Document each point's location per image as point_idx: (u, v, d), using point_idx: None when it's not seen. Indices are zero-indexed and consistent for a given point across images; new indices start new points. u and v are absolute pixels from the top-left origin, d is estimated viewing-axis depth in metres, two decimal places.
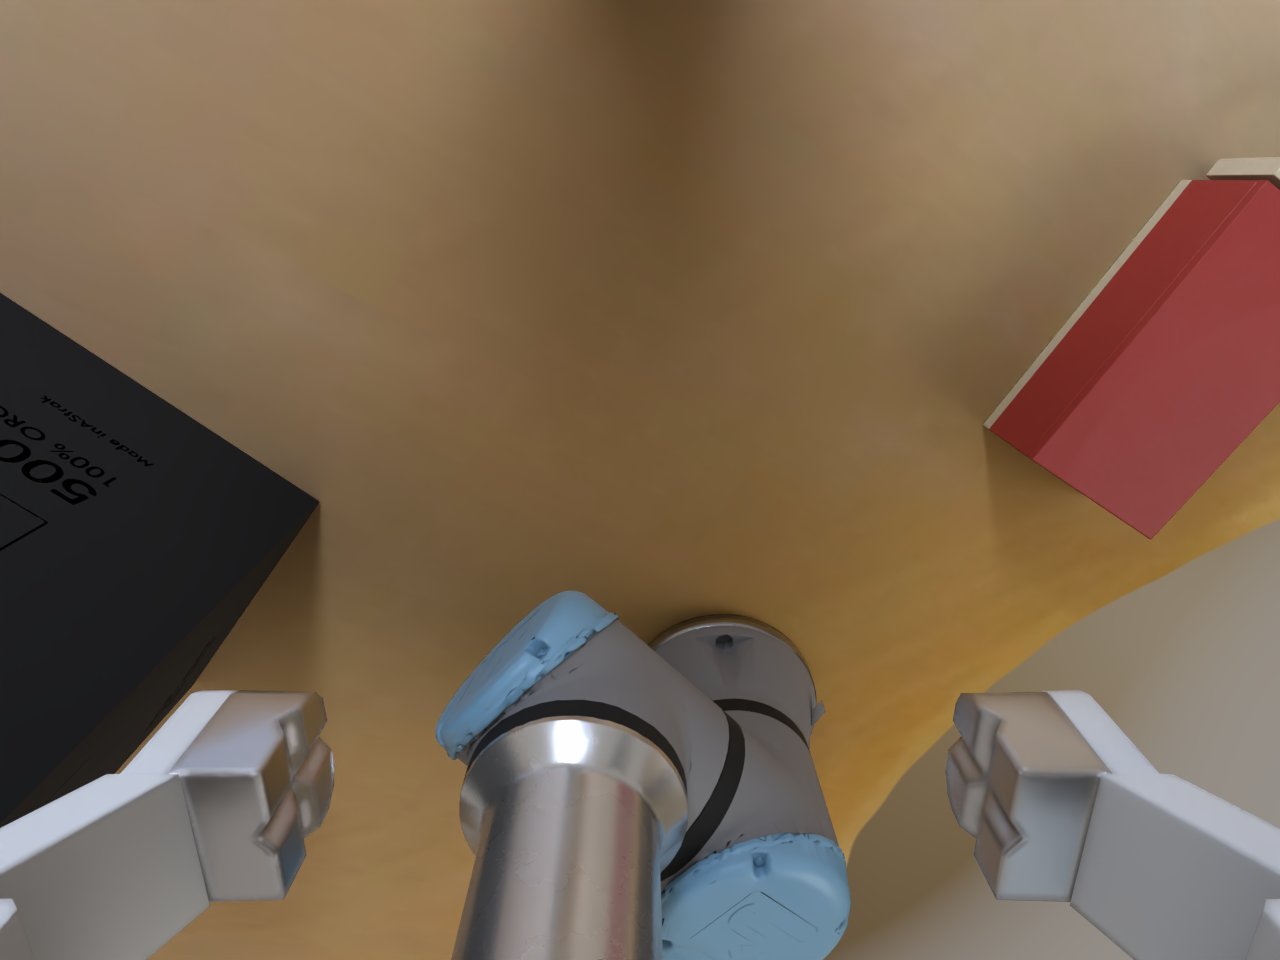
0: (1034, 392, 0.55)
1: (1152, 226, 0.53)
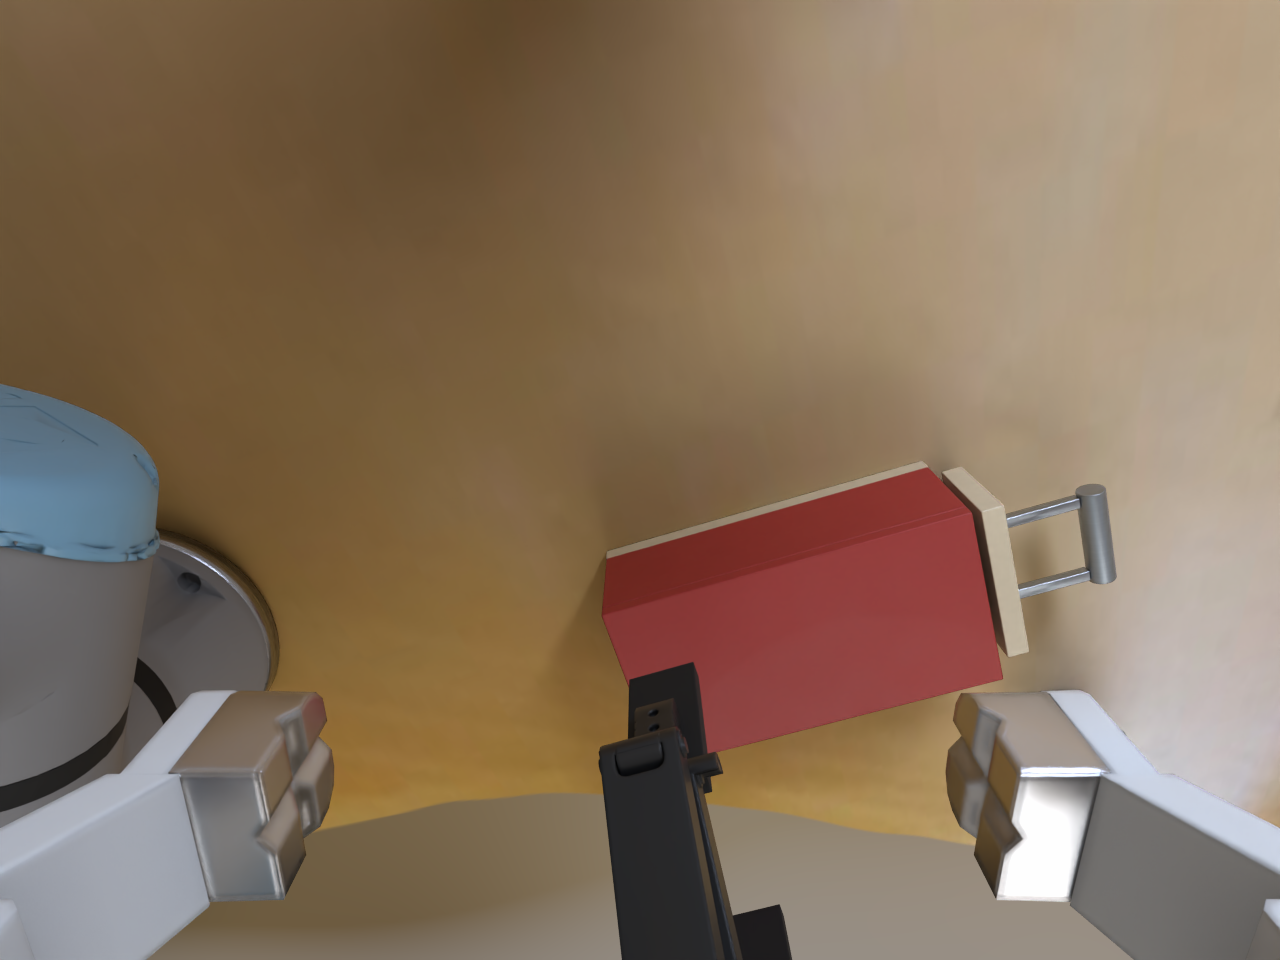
0: (664, 554, 0.47)
1: (869, 482, 0.48)
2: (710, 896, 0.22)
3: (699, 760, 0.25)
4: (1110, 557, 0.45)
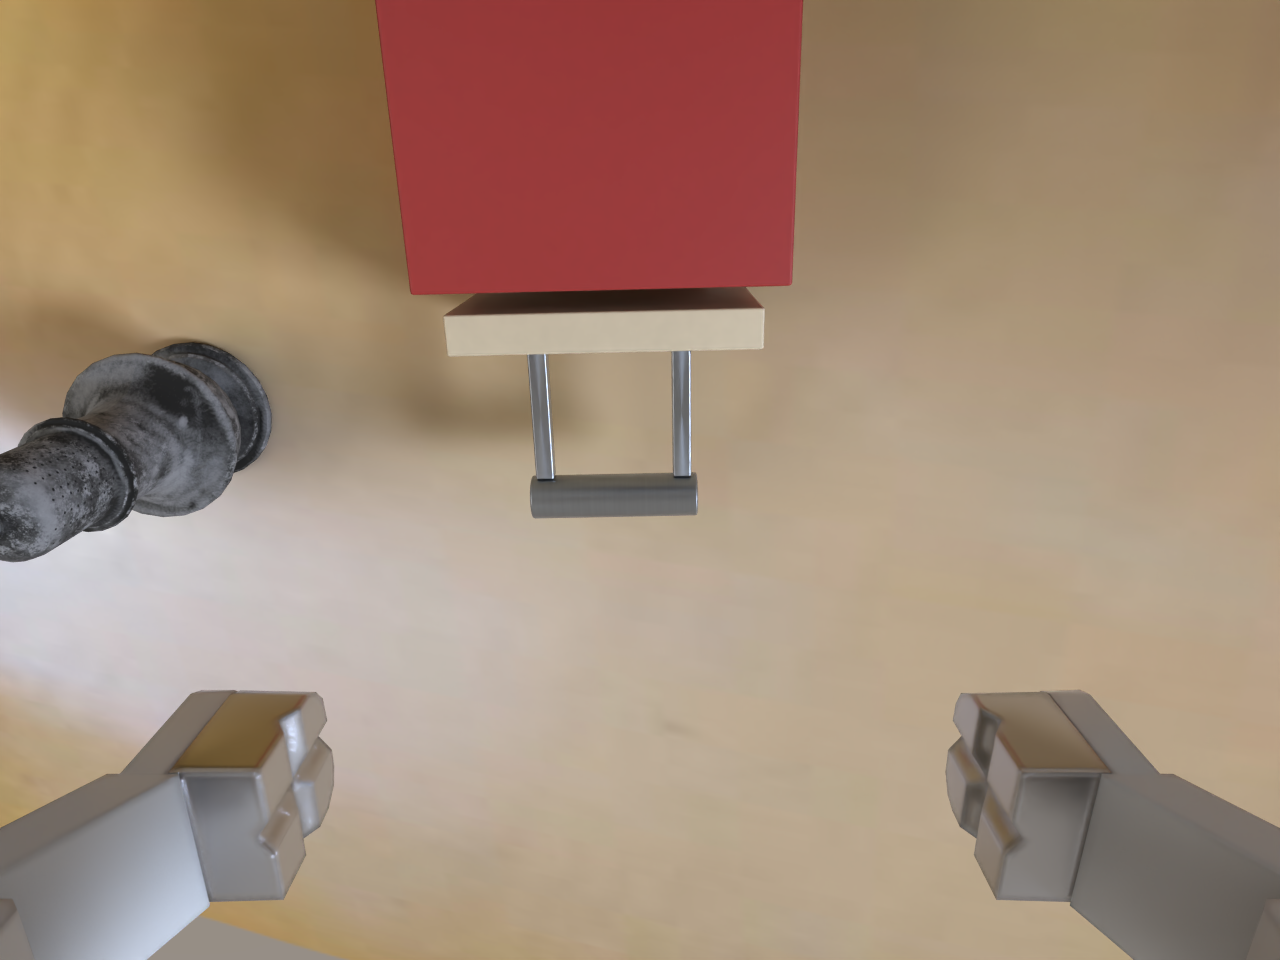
0: None
1: None
2: None
3: None
4: (577, 512, 0.27)
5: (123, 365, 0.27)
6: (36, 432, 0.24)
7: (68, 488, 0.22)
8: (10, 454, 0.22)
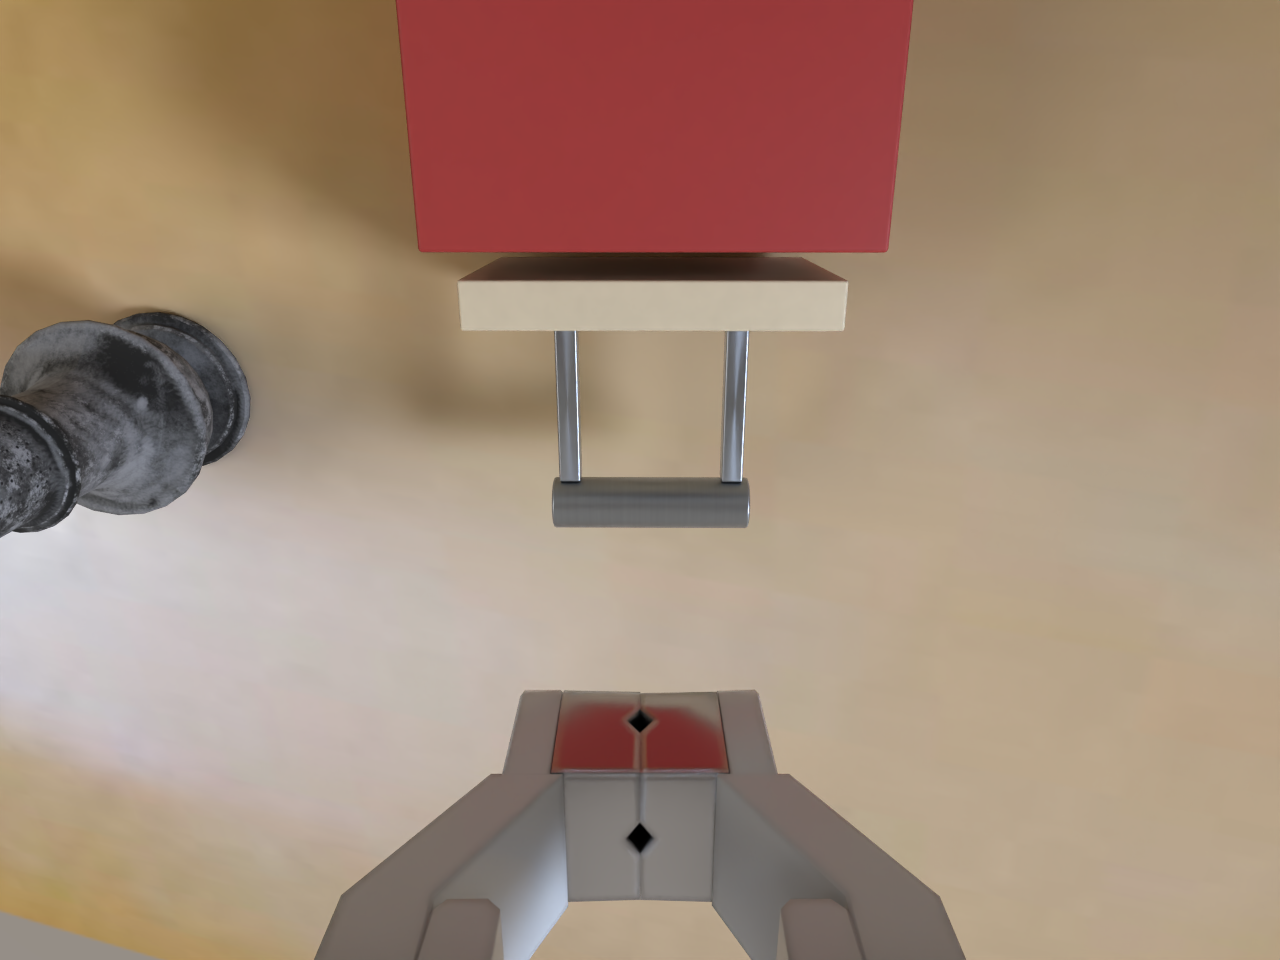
0: None
1: None
2: None
3: None
4: (607, 521, 0.23)
5: (72, 334, 0.23)
6: None
7: None
8: None
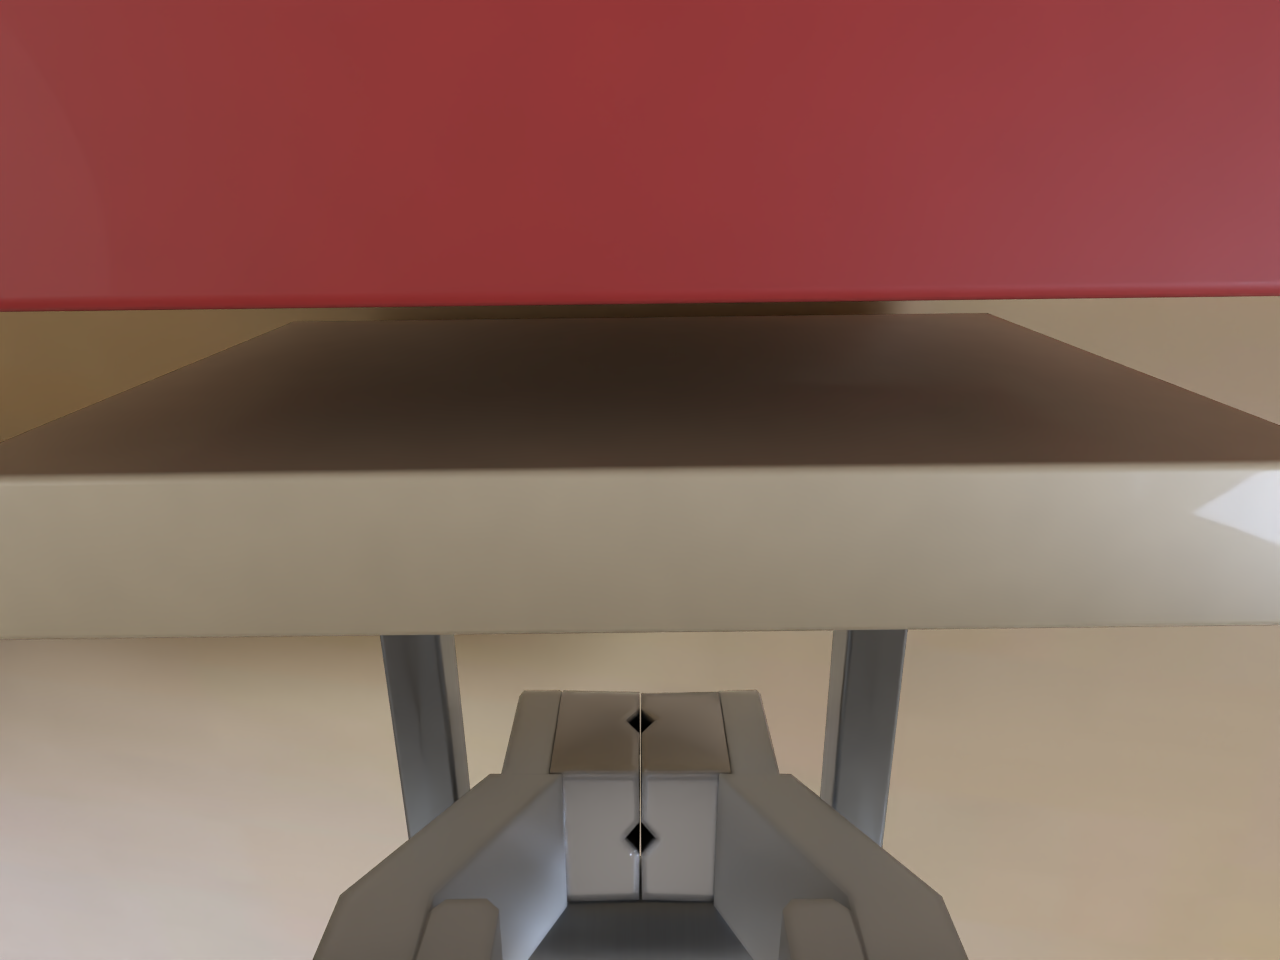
0: None
1: None
2: None
3: None
4: None
5: None
6: None
7: None
8: None
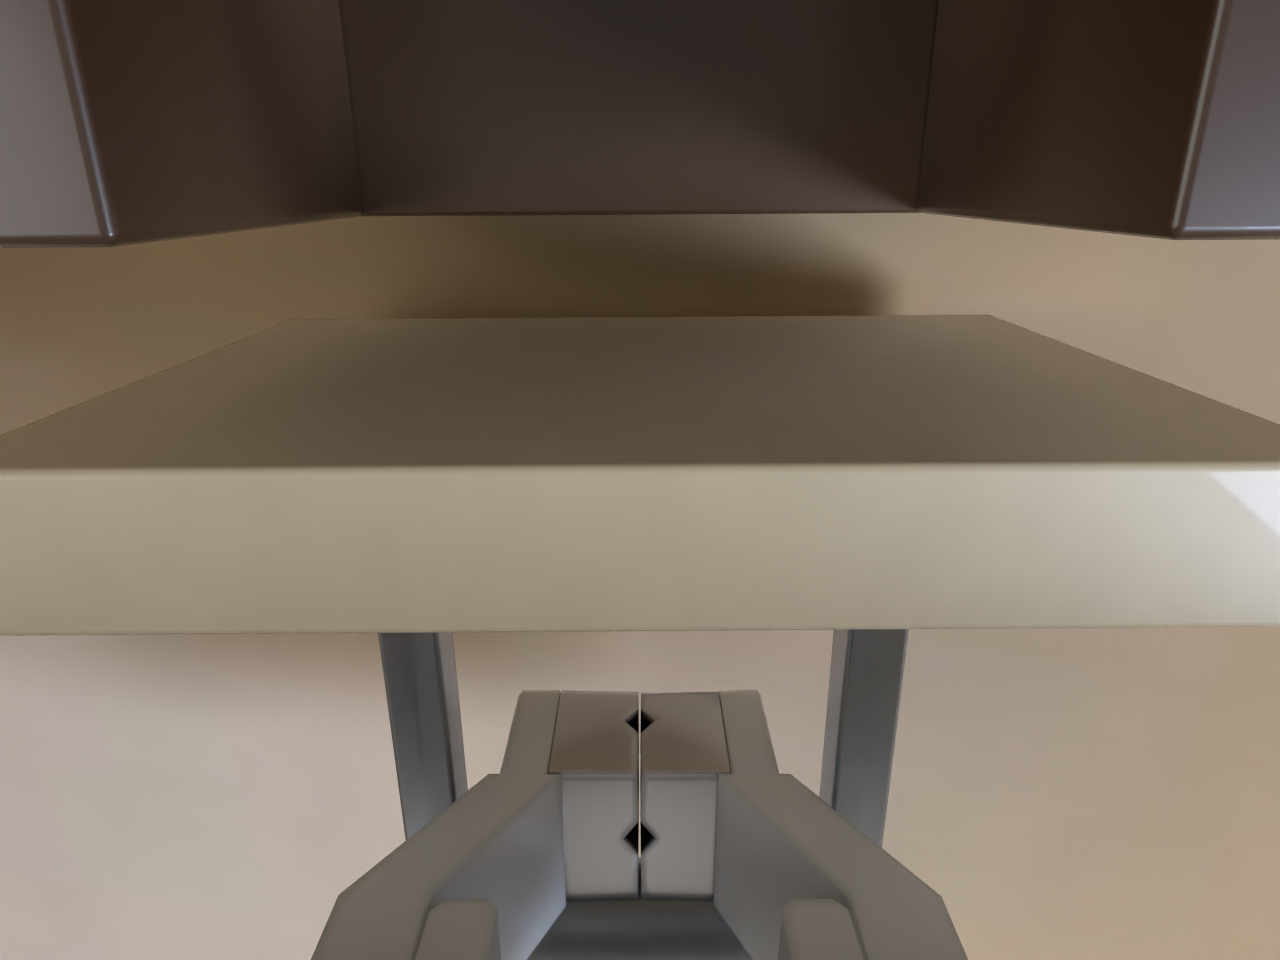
0: None
1: None
2: None
3: None
4: None
5: None
6: None
7: None
8: None
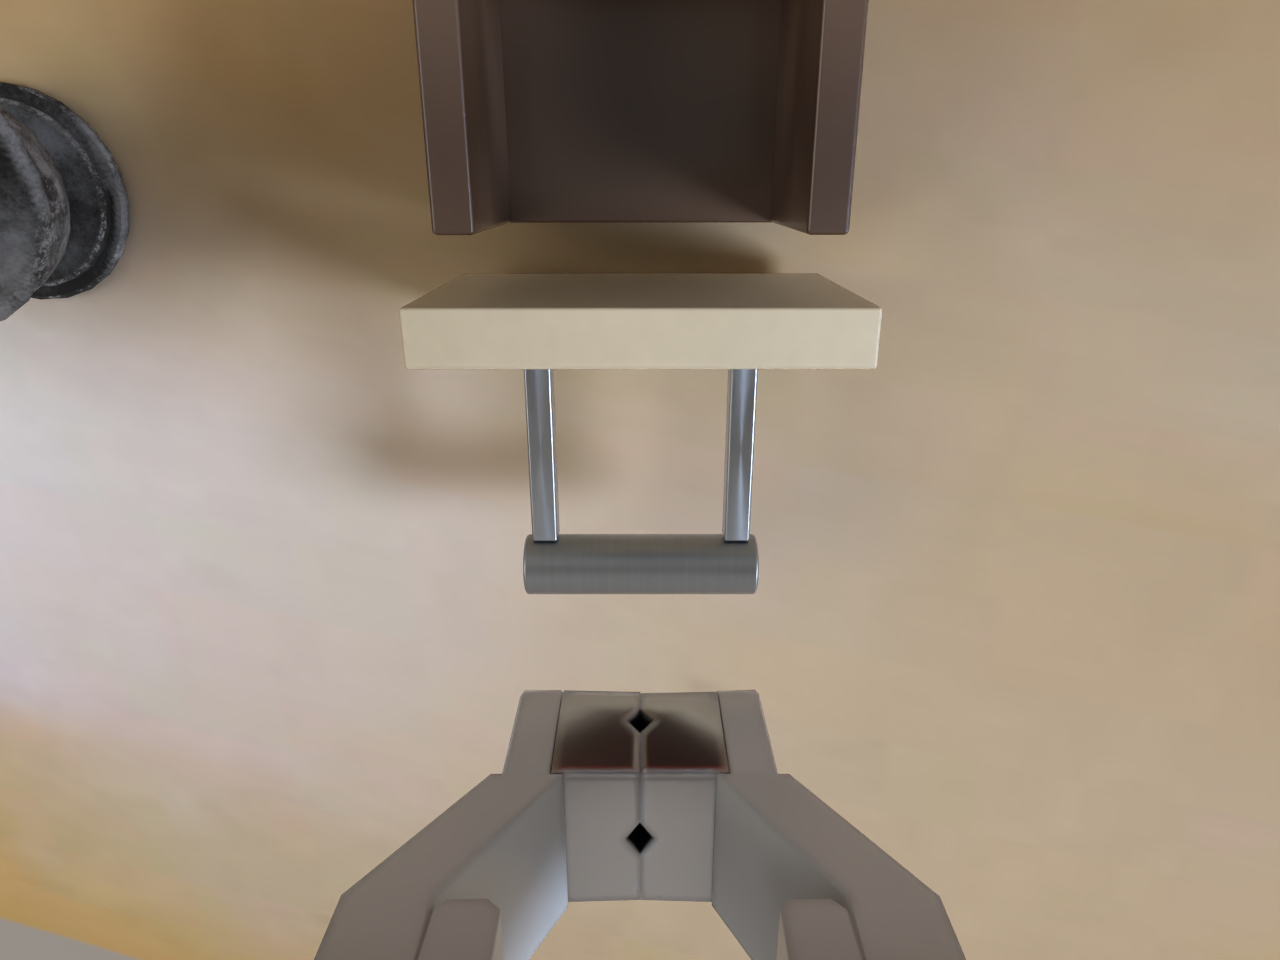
0: None
1: None
2: None
3: None
4: (589, 588, 0.20)
5: None
6: None
7: None
8: None
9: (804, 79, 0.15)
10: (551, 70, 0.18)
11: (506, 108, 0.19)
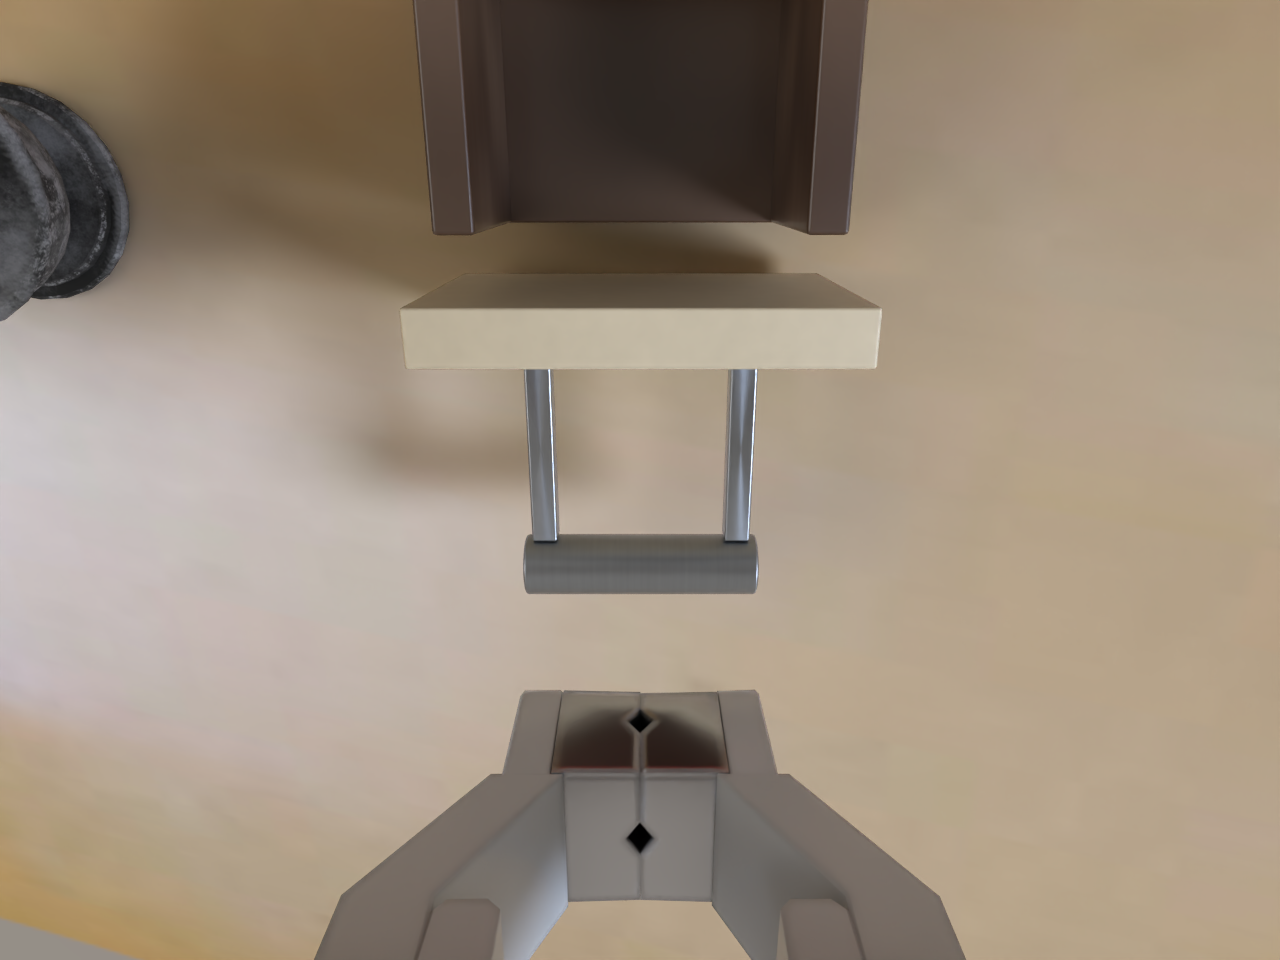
0: None
1: None
2: None
3: None
4: (589, 588, 0.20)
5: None
6: None
7: None
8: None
9: (804, 79, 0.15)
10: (551, 70, 0.18)
11: (506, 108, 0.19)
